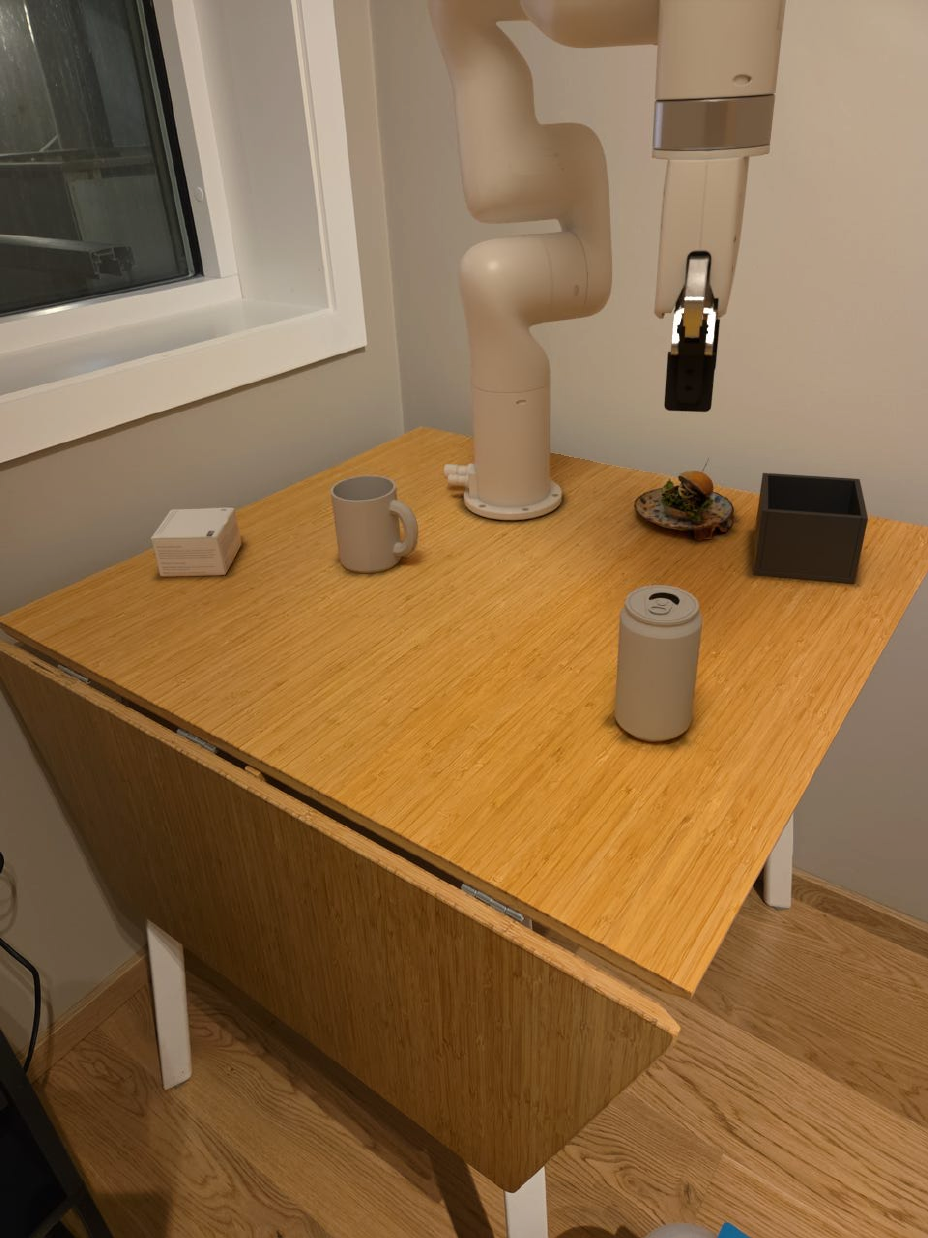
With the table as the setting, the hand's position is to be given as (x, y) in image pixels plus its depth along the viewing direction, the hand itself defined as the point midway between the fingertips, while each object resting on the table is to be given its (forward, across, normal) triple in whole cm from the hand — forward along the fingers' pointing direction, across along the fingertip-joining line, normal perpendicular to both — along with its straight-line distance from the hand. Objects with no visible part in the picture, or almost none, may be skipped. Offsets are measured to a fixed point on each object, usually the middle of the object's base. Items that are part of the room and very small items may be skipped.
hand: (691, 389), depth 68 cm
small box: (+26, -14, -55) cm, 62 cm away
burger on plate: (+26, -34, -1) cm, 43 cm away
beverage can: (+27, +6, -1) cm, 28 cm away
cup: (+26, -18, -34) cm, 46 cm away
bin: (+26, -27, +13) cm, 40 cm away
